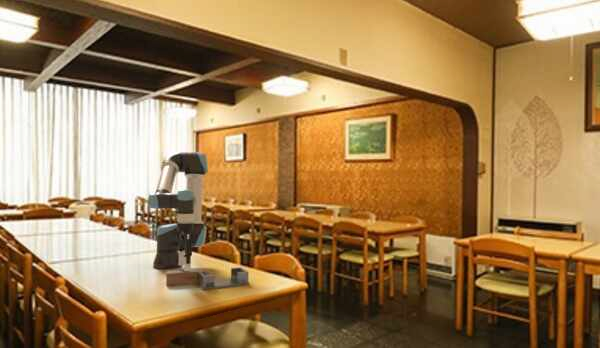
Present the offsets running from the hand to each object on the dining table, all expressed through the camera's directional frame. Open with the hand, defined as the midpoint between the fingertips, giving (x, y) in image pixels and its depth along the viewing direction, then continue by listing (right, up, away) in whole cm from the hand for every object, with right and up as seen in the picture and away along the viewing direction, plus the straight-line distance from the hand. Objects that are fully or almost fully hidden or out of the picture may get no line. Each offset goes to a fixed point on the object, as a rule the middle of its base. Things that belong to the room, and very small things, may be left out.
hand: (184, 267), depth 187 cm
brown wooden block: (0, -8, 0) cm, 8 cm away
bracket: (+18, -8, 0) cm, 20 cm away
